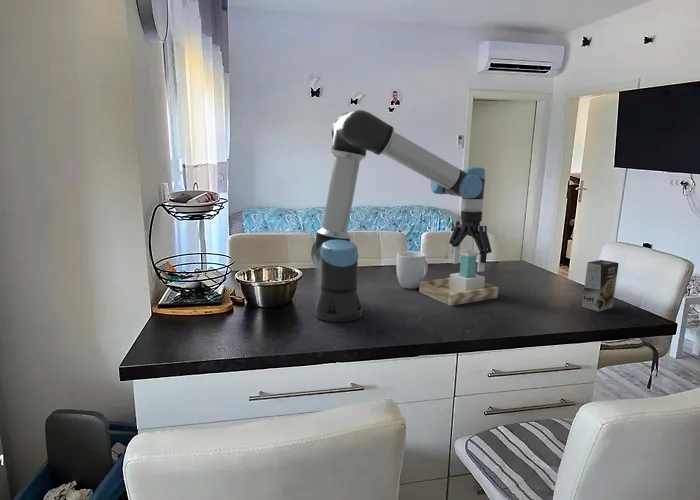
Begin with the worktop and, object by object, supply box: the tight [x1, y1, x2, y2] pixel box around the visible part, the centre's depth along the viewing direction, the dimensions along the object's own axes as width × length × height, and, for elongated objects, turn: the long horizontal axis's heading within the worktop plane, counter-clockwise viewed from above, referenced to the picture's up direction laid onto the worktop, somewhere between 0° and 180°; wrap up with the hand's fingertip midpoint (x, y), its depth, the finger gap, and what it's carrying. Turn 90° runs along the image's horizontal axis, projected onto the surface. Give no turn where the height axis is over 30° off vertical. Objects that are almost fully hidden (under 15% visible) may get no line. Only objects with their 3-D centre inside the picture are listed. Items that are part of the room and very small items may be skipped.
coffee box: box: [581, 259, 620, 313], centre depth 163 cm, size 9×6×16 cm
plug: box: [459, 250, 479, 278], centre depth 176 cm, size 4×4×12 cm
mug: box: [395, 251, 429, 290], centre depth 186 cm, size 15×11×13 cm
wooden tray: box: [419, 277, 499, 307], centre depth 176 cm, size 22×18×4 cm
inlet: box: [449, 272, 486, 293], centre depth 177 cm, size 9×9×6 cm
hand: (467, 267), depth 176 cm, fingers open, 13 cm apart
